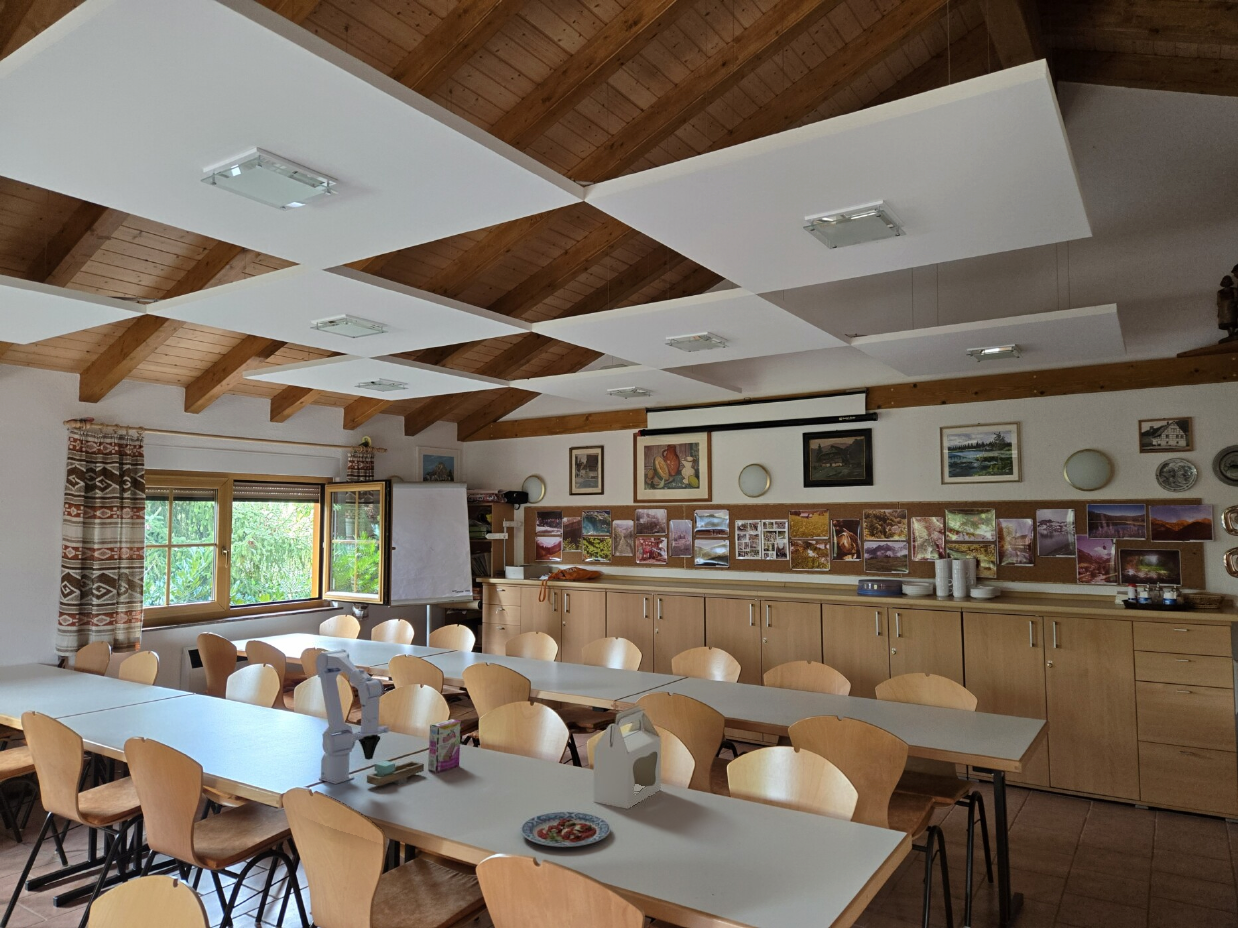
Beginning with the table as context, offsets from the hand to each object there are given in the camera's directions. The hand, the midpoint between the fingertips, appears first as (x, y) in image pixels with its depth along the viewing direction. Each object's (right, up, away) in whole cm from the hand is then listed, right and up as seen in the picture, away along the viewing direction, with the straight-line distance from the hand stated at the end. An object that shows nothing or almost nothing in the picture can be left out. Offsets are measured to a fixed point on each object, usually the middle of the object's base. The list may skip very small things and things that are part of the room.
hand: (368, 758), depth 269 cm
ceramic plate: (+68, -9, -37) cm, 78 cm away
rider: (+4, -8, +5) cm, 10 cm away
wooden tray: (+7, -11, +9) cm, 16 cm away
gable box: (+87, -11, -4) cm, 87 cm away
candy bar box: (+20, -13, +24) cm, 34 cm away
